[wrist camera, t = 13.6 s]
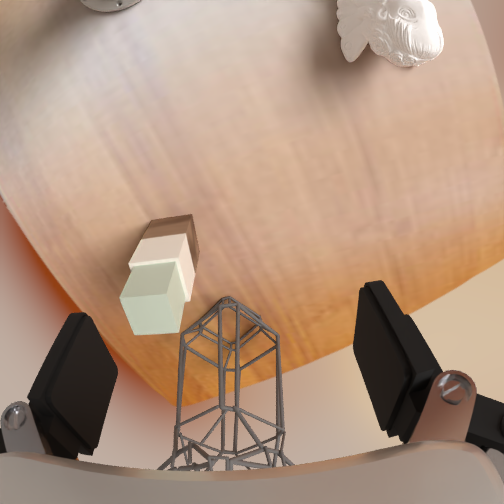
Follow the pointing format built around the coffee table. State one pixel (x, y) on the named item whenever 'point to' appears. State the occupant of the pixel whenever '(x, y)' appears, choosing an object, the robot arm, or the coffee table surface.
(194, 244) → the walnut block
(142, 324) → the sage block
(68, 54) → the coffee table surface
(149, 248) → the cream block
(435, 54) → the cherub figurine
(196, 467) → the geometric lantern
